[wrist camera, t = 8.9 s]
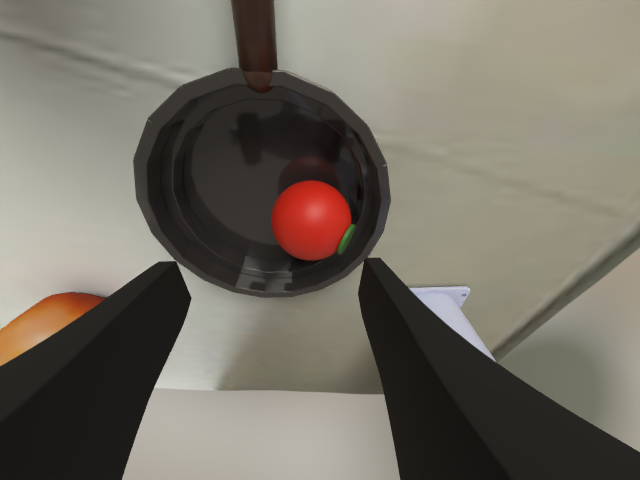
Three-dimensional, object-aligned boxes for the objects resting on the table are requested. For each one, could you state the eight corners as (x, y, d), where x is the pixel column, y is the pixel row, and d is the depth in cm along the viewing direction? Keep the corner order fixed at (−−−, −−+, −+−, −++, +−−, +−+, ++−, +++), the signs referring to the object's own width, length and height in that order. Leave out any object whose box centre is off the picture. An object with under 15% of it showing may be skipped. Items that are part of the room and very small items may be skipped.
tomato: (296, 213, 19) (352, 242, 18) (254, 251, 16) (321, 290, 14) (303, 155, 15) (375, 188, 14) (252, 189, 12) (340, 235, 11)
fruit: (29, 341, 22) (-69, 411, 15) (74, 266, 22) (1, 298, 15) (126, 362, 25) (86, 428, 18) (163, 297, 26) (140, 335, 18)
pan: (359, 265, 21) (368, 295, 19) (198, 268, 20) (181, 300, 17) (394, 76, 13) (420, 77, 10) (125, 62, 12) (72, 59, 9)
